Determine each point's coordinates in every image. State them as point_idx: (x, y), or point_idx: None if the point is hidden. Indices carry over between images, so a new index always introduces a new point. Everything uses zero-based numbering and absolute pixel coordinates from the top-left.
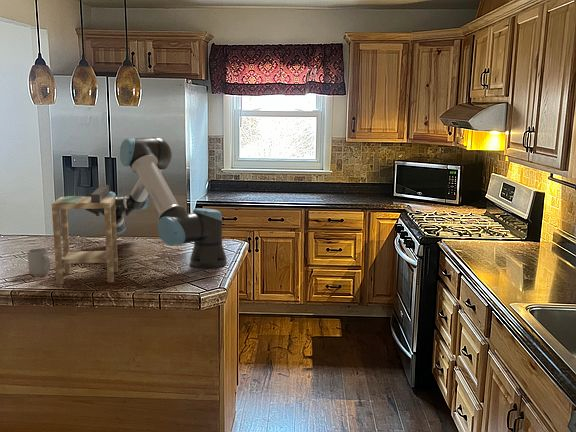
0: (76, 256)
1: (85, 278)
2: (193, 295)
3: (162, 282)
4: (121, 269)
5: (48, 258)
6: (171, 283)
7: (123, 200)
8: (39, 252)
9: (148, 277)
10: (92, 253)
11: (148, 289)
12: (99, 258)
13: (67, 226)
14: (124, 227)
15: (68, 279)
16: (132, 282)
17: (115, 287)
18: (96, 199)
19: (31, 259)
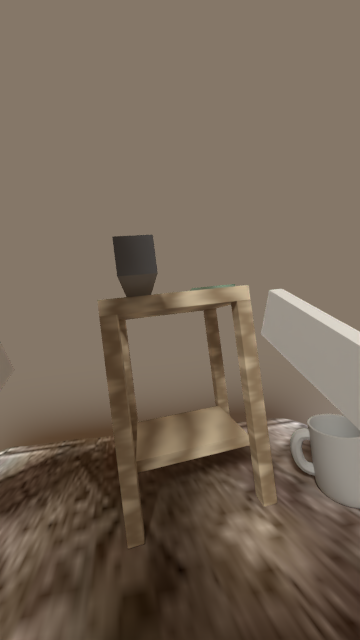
0: (204, 418)
1: (196, 473)
2: (19, 446)
3: (36, 480)
4: (116, 565)
5: (292, 436)
6: (21, 478)
7: (5, 352)
8: (310, 418)
9: (52, 502)
10: (179, 435)
11: (74, 451)
12: (152, 419)
13: (241, 367)
14: None
15: (228, 463)
16: (95, 471)
17: None
18: None
19: (329, 430)
